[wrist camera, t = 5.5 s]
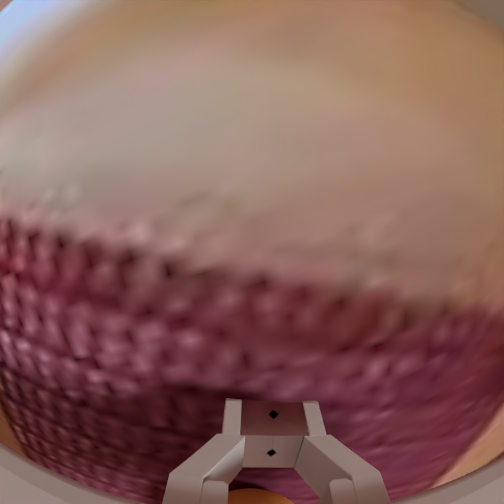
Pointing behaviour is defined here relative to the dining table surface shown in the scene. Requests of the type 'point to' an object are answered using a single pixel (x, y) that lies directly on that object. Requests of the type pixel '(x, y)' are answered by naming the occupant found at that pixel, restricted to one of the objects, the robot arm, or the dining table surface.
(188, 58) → the dining table surface
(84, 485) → the robot arm
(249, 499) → the ball
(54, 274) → the dining table surface
